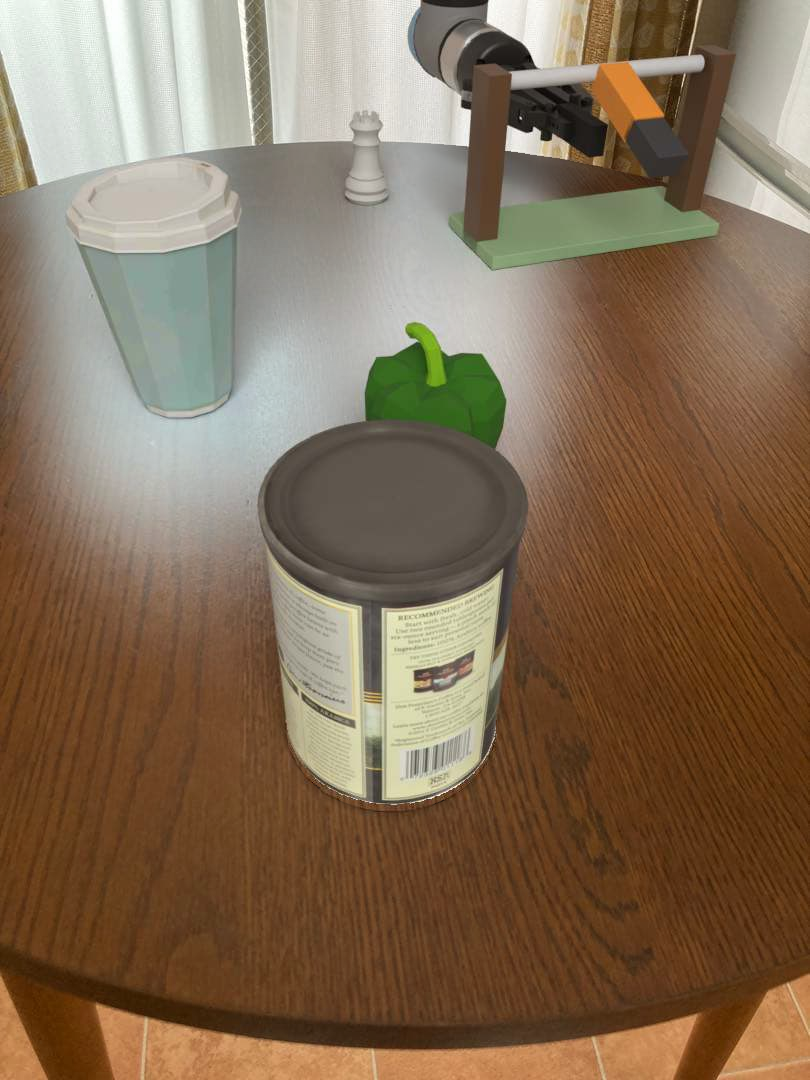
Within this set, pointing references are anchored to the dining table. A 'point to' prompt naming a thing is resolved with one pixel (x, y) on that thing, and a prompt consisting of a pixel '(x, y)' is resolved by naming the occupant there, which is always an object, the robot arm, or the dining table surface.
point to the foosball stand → (595, 217)
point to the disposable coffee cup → (165, 276)
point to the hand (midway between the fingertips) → (598, 141)
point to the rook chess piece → (366, 162)
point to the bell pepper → (436, 388)
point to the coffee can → (392, 602)
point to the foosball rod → (627, 104)
